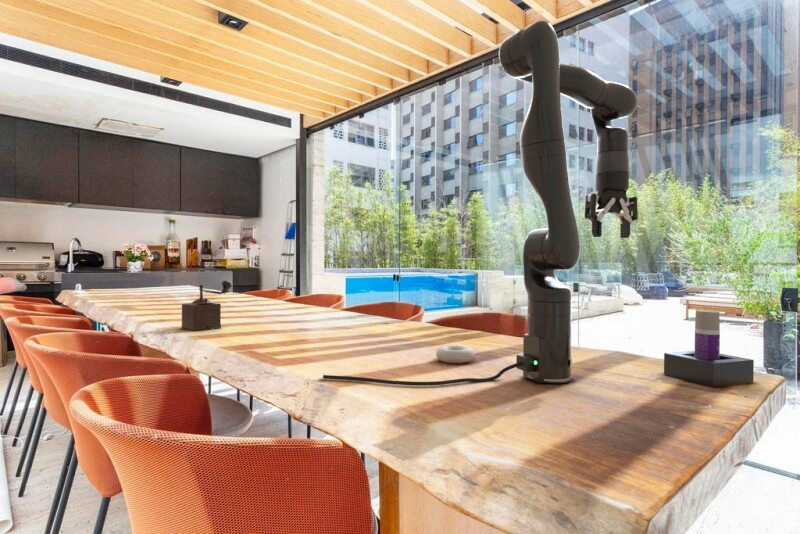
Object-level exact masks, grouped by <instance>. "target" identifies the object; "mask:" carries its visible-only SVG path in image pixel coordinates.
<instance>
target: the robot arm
mask: <svg viewBox="0 0 800 534" xmlns="http://www.w3.org/2000/svg"><path fill="white" fill-rule="evenodd" d="M560 54H561V53H560V44H559V38H558V35H557V33H556V30H555V28H554V27H553V25H552V24H551V23H550V22H549V21H546V20H538V21H535V22H533V23H531V24H529V25H527V26H525V27H524V28H521V29H520V30H518V31H516V32H514V33H512V34H511V35H509V36H507V38H505V39H504V40H503V41H502V43H501V44H500V46H499V49H498V59H499V63H500V66H501V68H502V70H503V71H504V72H505V73H506V74H507V75H508V76H510V77H511V78H513V79H516V80H519V81H521V82H525V83H528V84H532V93H531V100H530V104H529V107H528V110H527V113H526V116H525V118H524V121H523V124H522V127H521V131H520V135H519V148H520V149H519V152H520V158H521V159H520V160H521V166H522V171H523V173H524V175H525V178H526V180H527V181H528V183H529V184H530V186H531V187H532V188H533V190H534V191H535V193H536V194H537V196H538V197H539V199H540V200H541V202H542V205H543V207H544V211H545V215H546V222H547V227H545V228H544V227H543V228H536V229H533V230H531V231H530V232H528V233H527V235H526V237H525V239H524V242H523V247H522V265H523V285H524V288H525V291H526V293H527V294H526V295H527V323H526V324H527V327H526V328H527V332H526V333H524V334H523V339H522V340H523V342H522V343H523V347H522V353H520V354H516V357H515V358H516V359H515V360H516V363H513V364H510V365H508V366H505V367H504V368H502V369H500V371H498V373H496V374H495V375H493V376H490V377H481V378H479V377H477V378H475V377H462V378H453V379H446V380H438V381H437V380H435V381H408V380H407V381H406V380H391V379H381V378H373V377H372V378H371V377H362V376H350V375H349V376H348V375H331V374H330V375H329V374H323V375H322V379H325V380H339V381H340V380H342V381H355V382H356V381H357V382H367V383H374V384H375V383H377V384H384V385H386V384H387V385H397V386H398V385H399V386H416V387H417V386H418V387H420V386H422V387H423V386H424V387H426V386H443V385H451V384H459V383H482V382H483V383H484V382H492V381H495V380H497V379H499V378H500V377H501V376H502V375H503V374H504V373H505V372H507V371H510V370H512V369H515V368H516V369H518V370H520V371H522V377H523V378H525V379H528V380H530V381H533V382H536V383H538V384H565V383H569V382H571V381H572V374H571V373H572V365H573V358H572V289H571V288H570V287H568V286H566V285H564V284H563V283H562V282H561V281H559V280H558V278H557V276H556V271H568V270H569V271H570V270H572V269H574V268H575V266H576V265H577V264H578V262H579V260H580V256H581V241H580V233H579V229H578V224H577V220H576V215H575V210H574V205H573V201H572V194H571V193H572V192H571V187H570V186H571V185H570V179H569V170H568V157H567V147H566V138H565V131H564V124H563V114H562V102H561V101H562V100H561V95H562V96H564V97H566V98H569V99H570V100H572V101H574V103H577V104H579V105H581V106H582V107H584V108H587V109H590V116H591V119H592V123H593V127H594V130H595V135H596V141H597V142H596V145H597V147H596V160H595V191H596V192H597V193H589V194H586V195H585V202H584V215H583V216H584V219H586V220H589V221H590V222H591V235H592V237H594V238H601V237H602V235H603V233H602V232H603V231H602V229H603V222H602V219H603V218H604V216H605V215H606V214H612V215H613V214H614V215H615V216H616V217H617V218H618V219H619V221H620V228H619V229H620V230H619V231H620V235H619V237H620V238H621V239H628V238H630V236H631V225H632V224H631V223H632V222H634V221H637V220H638V219H639V217H638V216H639V214H638V213H639V212H638V209H639V208H638V196H628V195H627V192H628V190H629V189H630V186H629V185H630V159H629V158H630V157H629V132H628V130H627V129H626V128H623V127H613V125H612V121H615V120H620V119H624V118H627V117H630V116H631V115H633V114H634V112H635V111H636V110H637V107H638V97H637V94H636V92H635V91H634V90H633V89H632V88H630V87H629V86H628V85H625V84H623V83H619V82H615V81H613V80H612V81H611V80H604V78H602V77H600V76H599V75H597V74H596V73H594V72H592V71H591V70H589V69H587V68H584V67H581V66H577V65H571V64H565V63H561V59H560V56H561V55H560Z"/></svg>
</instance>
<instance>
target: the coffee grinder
mask: <svg viewBox="0 0 800 534" xmlns="http://www.w3.org/2000/svg"><path fill="white" fill-rule="evenodd" d="M221 286H222V288H221V289H222V290H221V291H216V290H208V289H205V288H204V285H203V284H199V288H198V290H199V298H196V299H195V300H193V301H192V302H189V303H187V302H186V303H181V329H182V328H183V330H186V331H188V330H189V331H193V332H198V331H199V332H200V331H206V330H208V331H209V330H214V329H220V328H222V326H221V322H222V321H221V314H222V313H221V310H222V309H221V307H222V306H221V305H222V304H221V303H220V302H219V303H217V302H212V301H211V300H209V299H208V298H204V296H203V295H204V293H210V294H215V295H216V294H217V295H222V294H223V295H225V294H229V293H230V289H231V288H232V287H233V283H232V281H231V280H226V279H225V280H222V282H221Z"/></svg>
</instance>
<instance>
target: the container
mask: <svg viewBox="0 0 800 534" xmlns="http://www.w3.org/2000/svg"><path fill="white" fill-rule="evenodd" d="M694 319H695V321H694V351H695V357H696V358H701V359H706V360H711V361H712V360H719V353H720V354H721V351H720V348H721V347H720V344H721V331H720V330H721V327H720V326H721V325H720V311H717V310H702V309H701V310H699V309H698V310H695V318H694Z"/></svg>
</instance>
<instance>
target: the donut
mask: <svg viewBox="0 0 800 534" xmlns="http://www.w3.org/2000/svg"><path fill="white" fill-rule="evenodd" d="M435 351H436V352H435V356H436V358H437V360H438V361H440V362H442V363H446V364H467V363H470V362H471V361H473V360H474V359H475V352H474V349H472V348H471V347H469V346H464V345H443V346H440V347H438V348H437V349H436V350H435Z"/></svg>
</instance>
